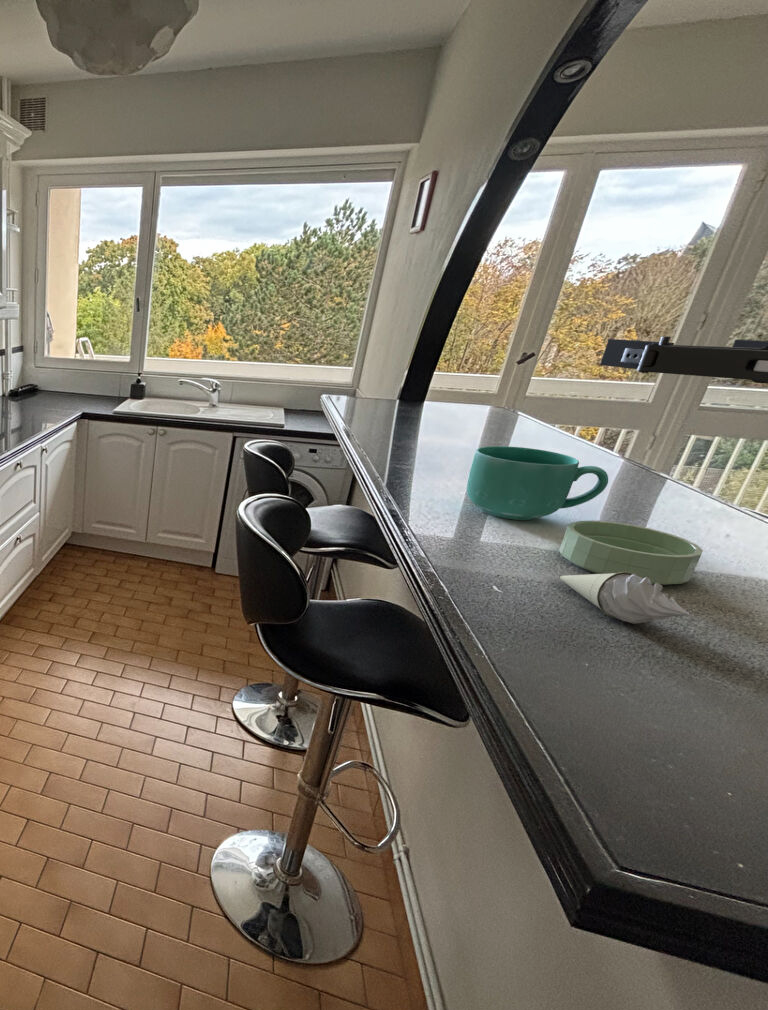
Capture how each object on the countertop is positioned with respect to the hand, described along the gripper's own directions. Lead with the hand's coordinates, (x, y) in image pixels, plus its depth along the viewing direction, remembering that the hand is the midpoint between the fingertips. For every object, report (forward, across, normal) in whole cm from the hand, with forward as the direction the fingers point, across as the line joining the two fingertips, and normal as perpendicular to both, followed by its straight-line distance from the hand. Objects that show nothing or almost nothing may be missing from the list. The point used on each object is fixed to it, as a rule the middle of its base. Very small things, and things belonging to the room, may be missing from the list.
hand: (669, 352), depth 64 cm
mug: (+20, +7, -26) cm, 34 cm away
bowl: (+1, +5, -26) cm, 26 cm away
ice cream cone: (-4, -7, -25) cm, 27 cm away
